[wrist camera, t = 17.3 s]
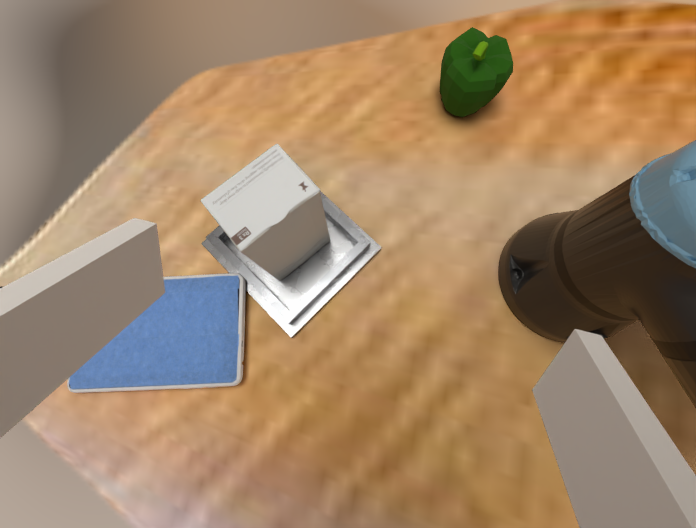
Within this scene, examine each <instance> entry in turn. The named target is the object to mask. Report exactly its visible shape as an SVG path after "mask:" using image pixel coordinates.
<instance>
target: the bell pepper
mask: <svg viewBox="0 0 696 528" xmlns="http://www.w3.org/2000/svg"><path fill="white" fill-rule="evenodd" d="M512 72H513V61H512V56H511V52H510V49H509V46H508V43H507V40H506V39H505V38H502V37H499V36H497V35H495V36H493V37H490V38H487V36H486V35H485V34H484V33H483V32H481V31H479V30H477V29H475V28H473V27H472V28H471V29H469V30H468V31H466V32H465V33H463V34H462V35H460V36H459V37H458V38H456V39H455V40H454V41H452V42H451V43H450V44H449V46H448V47H447V48H446V50H445V53H444V56H443V60H442V65H441V78H440V93H441V96H442V102H443V104H444V106H445V108H446V110H447V111H448V112H450V113H451V114H453V115H454V116H459V117H464V116H467V115H470V114H473V113H475V112H477V111H478V110H479V109H480V108H481V107H484V106H485V105H486V104H487V103H489V102H490V101H491V100H492V99H493V98H494V97H495V96H496V95H497V94H498V93H499V92H500V90H501V89H502V88H503V86H504V85H505V83H506V82H507V80H508V79H509V77H510V75H511V74H512Z"/></svg>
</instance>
